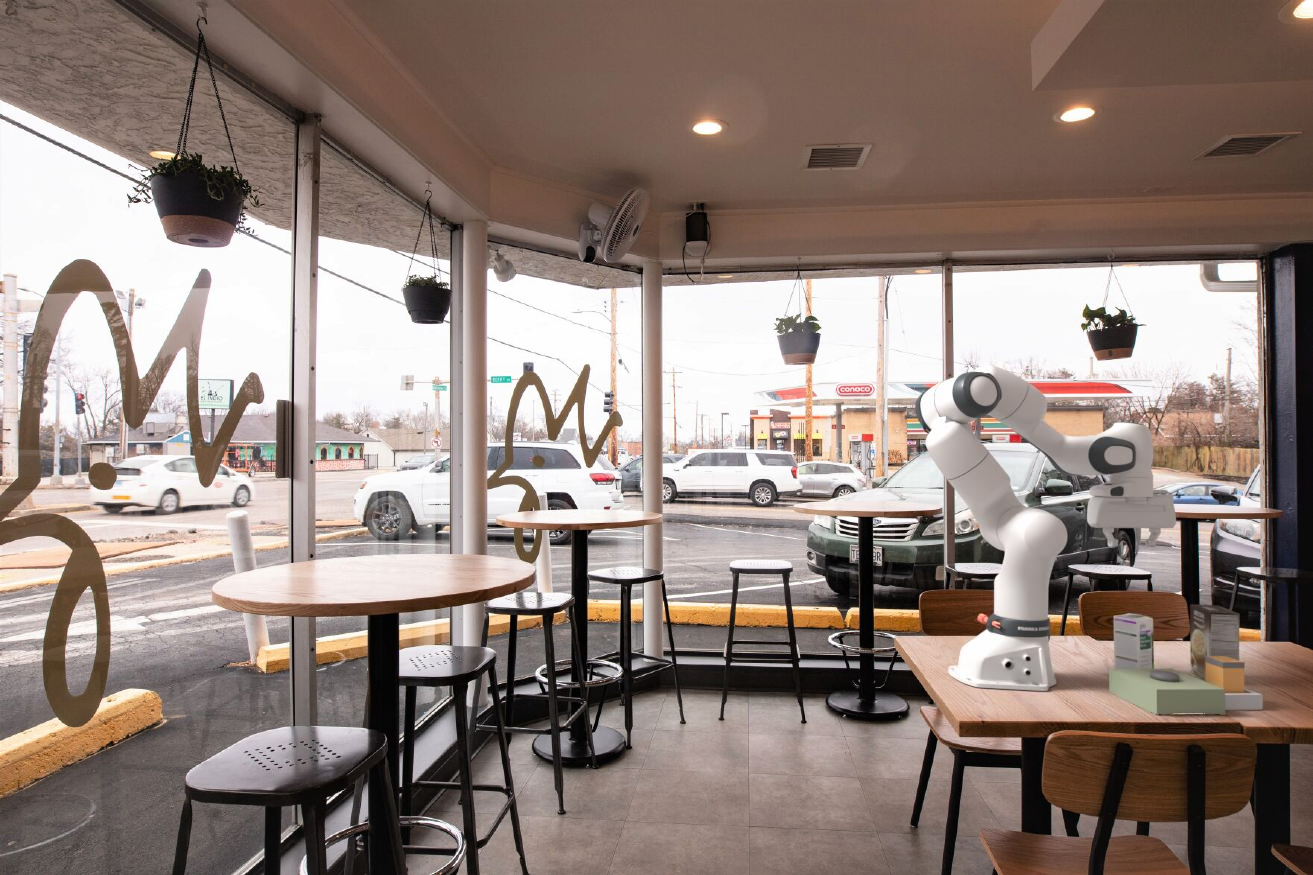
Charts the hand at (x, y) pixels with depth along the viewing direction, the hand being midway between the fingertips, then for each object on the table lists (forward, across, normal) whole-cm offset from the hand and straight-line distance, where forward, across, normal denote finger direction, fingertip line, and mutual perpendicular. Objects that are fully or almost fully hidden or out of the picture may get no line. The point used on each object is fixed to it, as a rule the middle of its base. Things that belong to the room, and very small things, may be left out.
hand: (1131, 546), depth 179 cm
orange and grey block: (+29, -2, +25) cm, 38 cm away
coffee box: (+29, -14, +8) cm, 33 cm away
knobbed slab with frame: (+29, +6, +25) cm, 39 cm away
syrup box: (+29, +6, +9) cm, 31 cm away
